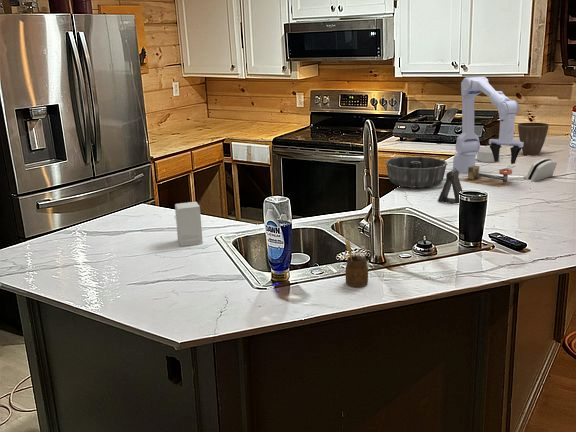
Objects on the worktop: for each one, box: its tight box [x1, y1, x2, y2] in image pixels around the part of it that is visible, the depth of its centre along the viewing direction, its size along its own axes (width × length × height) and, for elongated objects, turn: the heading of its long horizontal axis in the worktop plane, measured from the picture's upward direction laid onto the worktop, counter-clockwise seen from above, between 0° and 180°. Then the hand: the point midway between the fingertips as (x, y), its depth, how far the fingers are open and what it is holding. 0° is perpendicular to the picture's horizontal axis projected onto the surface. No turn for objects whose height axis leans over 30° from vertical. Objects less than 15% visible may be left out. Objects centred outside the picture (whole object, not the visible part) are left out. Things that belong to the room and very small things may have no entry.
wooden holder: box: [465, 165, 481, 181], centre depth 268 cm, size 4×6×6 cm, turn 132°
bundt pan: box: [385, 155, 449, 189], centre depth 267 cm, size 26×26×10 cm
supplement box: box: [174, 201, 204, 247], centre depth 199 cm, size 7×7×13 cm
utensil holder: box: [344, 237, 369, 288], centre depth 161 cm, size 6×6×12 cm
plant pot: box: [517, 122, 550, 156], centre depth 319 cm, size 15×15×16 cm
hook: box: [477, 168, 513, 182], centre depth 261 cm, size 15×5×5 cm, turn 42°
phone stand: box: [437, 169, 463, 204], centre depth 237 cm, size 9×6×12 cm, turn 57°
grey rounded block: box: [522, 157, 558, 182], centre depth 269 cm, size 17×5×10 cm, turn 129°
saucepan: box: [476, 145, 503, 164], centre depth 313 cm, size 12×20×6 cm, turn 138°
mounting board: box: [459, 176, 515, 188], centre depth 265 cm, size 20×12×1 cm, turn 42°
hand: (504, 162), depth 258 cm, fingers open, 7 cm apart
